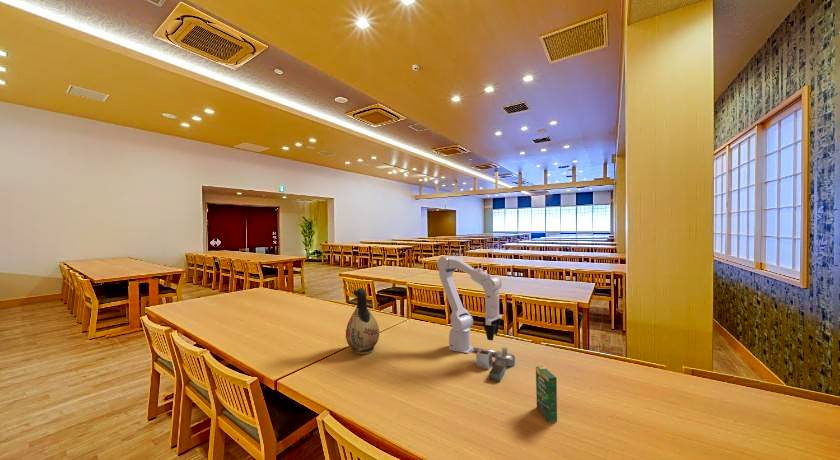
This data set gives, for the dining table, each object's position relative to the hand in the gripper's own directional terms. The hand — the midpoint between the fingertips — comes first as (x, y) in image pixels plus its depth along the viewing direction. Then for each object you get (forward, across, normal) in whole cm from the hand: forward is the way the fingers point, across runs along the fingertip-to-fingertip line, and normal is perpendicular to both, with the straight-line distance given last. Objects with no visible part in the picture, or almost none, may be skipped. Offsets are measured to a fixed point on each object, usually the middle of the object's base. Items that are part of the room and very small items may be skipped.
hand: (492, 336), depth 132 cm
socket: (+10, -7, +2) cm, 12 cm away
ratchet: (+10, -8, -5) cm, 13 cm away
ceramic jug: (+10, -17, +56) cm, 59 cm away
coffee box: (+10, -31, -24) cm, 40 cm away
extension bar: (+10, +5, +4) cm, 12 cm away
